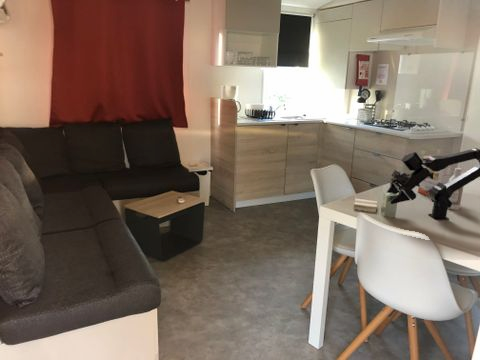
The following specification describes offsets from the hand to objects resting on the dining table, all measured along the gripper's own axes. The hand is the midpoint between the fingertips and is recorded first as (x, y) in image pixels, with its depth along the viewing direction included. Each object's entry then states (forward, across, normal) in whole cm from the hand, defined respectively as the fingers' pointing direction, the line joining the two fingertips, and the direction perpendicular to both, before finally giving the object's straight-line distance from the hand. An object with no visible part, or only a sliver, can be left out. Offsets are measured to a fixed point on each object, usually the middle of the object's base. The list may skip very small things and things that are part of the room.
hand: (387, 200), depth 183 cm
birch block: (+10, -9, 0) cm, 14 cm away
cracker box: (-21, -37, +31) cm, 53 cm away
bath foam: (-22, -16, +32) cm, 42 cm away
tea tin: (+4, 0, +6) cm, 7 cm away
